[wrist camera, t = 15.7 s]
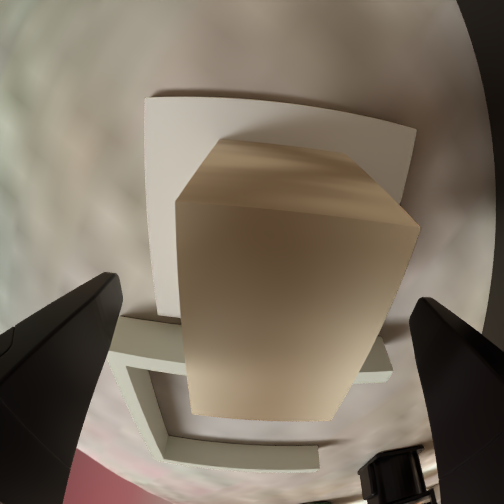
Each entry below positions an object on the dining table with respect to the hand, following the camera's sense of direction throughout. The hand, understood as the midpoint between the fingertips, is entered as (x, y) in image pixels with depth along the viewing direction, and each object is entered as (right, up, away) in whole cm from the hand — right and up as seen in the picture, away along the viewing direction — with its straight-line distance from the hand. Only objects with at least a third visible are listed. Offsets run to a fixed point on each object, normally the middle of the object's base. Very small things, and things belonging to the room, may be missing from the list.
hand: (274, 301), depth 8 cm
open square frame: (-1, -10, +11) cm, 15 cm away
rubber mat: (0, +2, +4) cm, 5 cm away
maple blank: (0, +2, +4) cm, 4 cm away
